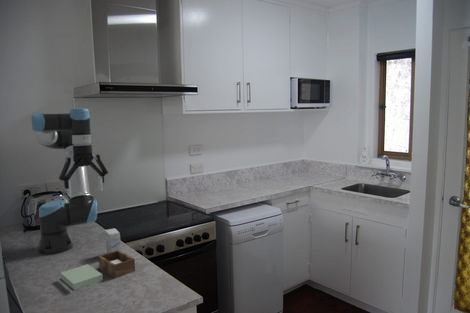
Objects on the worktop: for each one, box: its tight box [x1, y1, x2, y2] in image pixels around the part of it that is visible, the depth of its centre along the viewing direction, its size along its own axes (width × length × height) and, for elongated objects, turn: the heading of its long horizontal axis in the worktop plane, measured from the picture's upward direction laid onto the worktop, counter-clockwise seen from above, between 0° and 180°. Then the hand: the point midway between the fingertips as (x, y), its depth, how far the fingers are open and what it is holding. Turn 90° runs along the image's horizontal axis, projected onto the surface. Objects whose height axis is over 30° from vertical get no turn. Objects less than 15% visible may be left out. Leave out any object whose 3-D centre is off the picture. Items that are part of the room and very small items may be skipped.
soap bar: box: [110, 259, 122, 264], centre depth 151 cm, size 6×4×3 cm, turn 45°
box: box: [98, 250, 136, 279], centre depth 151 cm, size 14×9×6 cm, turn 45°
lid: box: [60, 263, 104, 291], centre depth 143 cm, size 14×11×3 cm
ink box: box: [104, 227, 122, 254], centre depth 167 cm, size 9×5×12 cm, turn 33°
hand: (85, 193), depth 156 cm, fingers open, 13 cm apart
